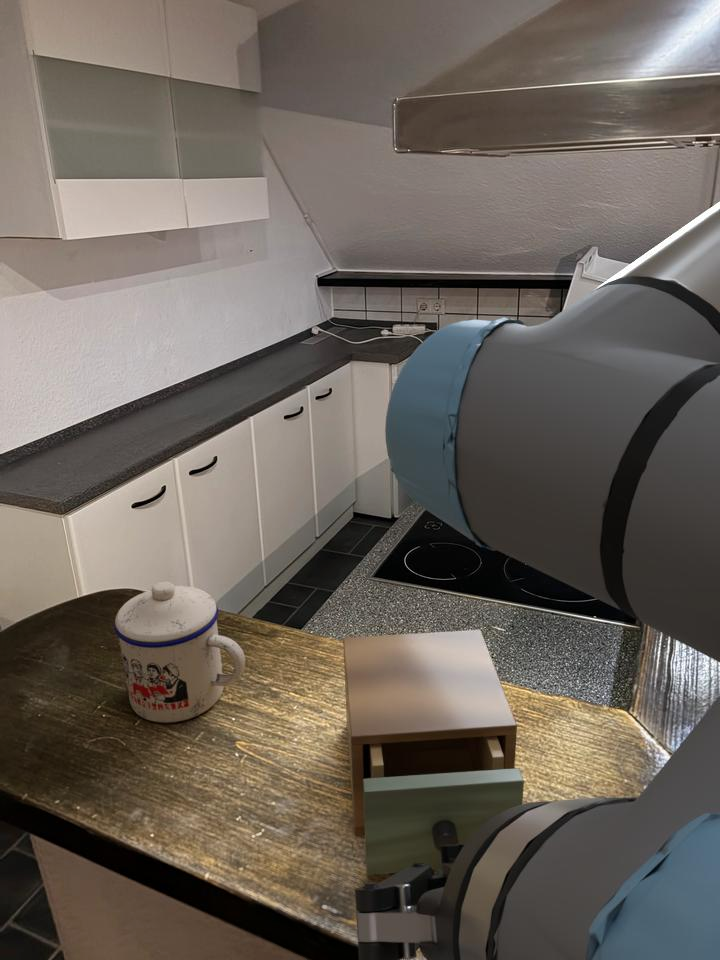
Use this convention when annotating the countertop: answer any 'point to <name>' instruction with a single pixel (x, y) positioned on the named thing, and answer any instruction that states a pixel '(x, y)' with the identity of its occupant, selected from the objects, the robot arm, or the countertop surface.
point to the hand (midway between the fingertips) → (461, 875)
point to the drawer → (431, 797)
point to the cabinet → (421, 696)
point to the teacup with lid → (174, 652)
